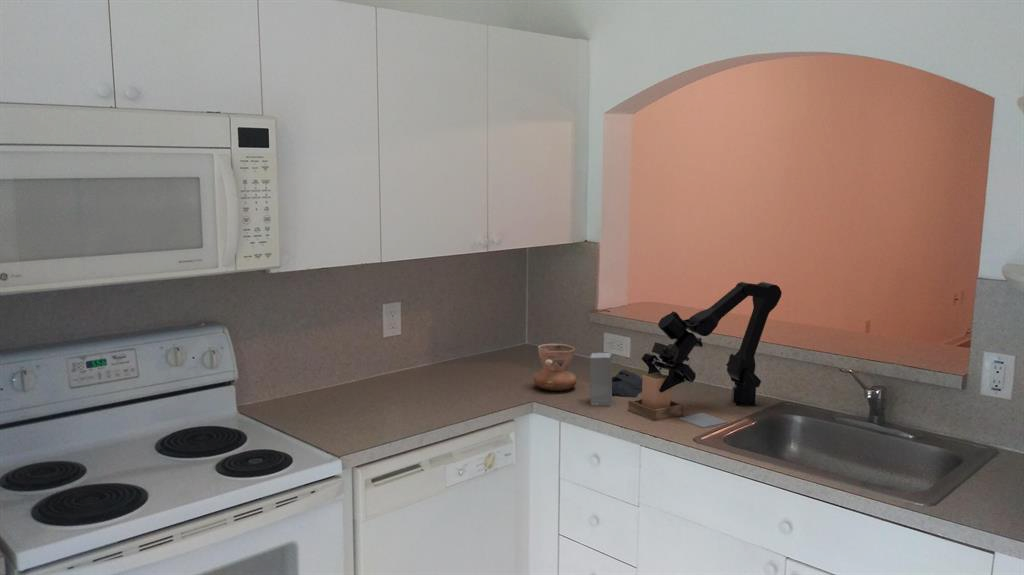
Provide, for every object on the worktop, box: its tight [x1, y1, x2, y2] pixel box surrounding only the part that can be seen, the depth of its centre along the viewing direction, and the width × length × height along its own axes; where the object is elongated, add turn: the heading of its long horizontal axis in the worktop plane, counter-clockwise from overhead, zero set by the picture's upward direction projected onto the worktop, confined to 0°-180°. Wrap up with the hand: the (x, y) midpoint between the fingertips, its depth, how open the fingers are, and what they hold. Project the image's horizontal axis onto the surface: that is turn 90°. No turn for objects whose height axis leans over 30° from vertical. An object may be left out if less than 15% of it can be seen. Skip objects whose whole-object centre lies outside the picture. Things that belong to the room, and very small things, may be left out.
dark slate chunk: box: [612, 369, 643, 398], centre depth 270 cm, size 15×22×5 cm
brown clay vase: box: [533, 343, 578, 392], centre depth 270 cm, size 18×14×14 cm
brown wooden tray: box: [627, 397, 684, 422], centre depth 243 cm, size 12×12×4 cm
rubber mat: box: [678, 412, 729, 429], centre depth 236 cm, size 10×10×1 cm
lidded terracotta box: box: [641, 372, 672, 410], centre depth 242 cm, size 6×6×10 cm
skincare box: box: [589, 352, 613, 407], centre depth 253 cm, size 8×7×16 cm
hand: (653, 389), depth 241 cm, fingers closed on lidded terracotta box, 6 cm apart
